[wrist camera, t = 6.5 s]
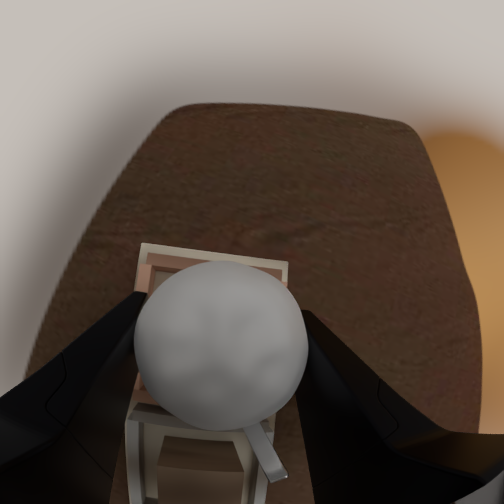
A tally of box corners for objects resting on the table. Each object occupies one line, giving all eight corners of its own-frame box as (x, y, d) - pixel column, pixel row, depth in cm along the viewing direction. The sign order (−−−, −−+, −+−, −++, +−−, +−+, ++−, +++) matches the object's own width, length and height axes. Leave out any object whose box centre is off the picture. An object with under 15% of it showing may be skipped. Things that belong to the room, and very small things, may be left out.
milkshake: (186, 401, 13) (178, 507, 4) (156, 307, 14) (90, 270, 5) (266, 376, 14) (369, 437, 5) (236, 285, 16) (302, 216, 6)
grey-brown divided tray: (259, 515, 16) (276, 554, 11) (133, 506, 15) (120, 545, 9) (284, 264, 22) (313, 243, 17) (144, 246, 21) (126, 218, 15)
